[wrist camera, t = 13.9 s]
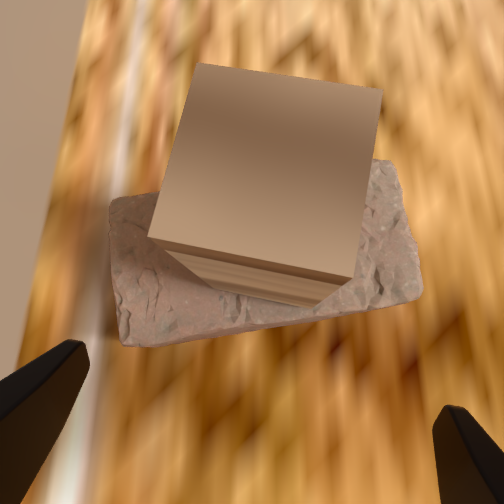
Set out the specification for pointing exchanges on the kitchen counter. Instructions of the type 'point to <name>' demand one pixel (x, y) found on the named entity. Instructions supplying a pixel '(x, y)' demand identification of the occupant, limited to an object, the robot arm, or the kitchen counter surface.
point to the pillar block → (268, 183)
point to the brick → (242, 306)
